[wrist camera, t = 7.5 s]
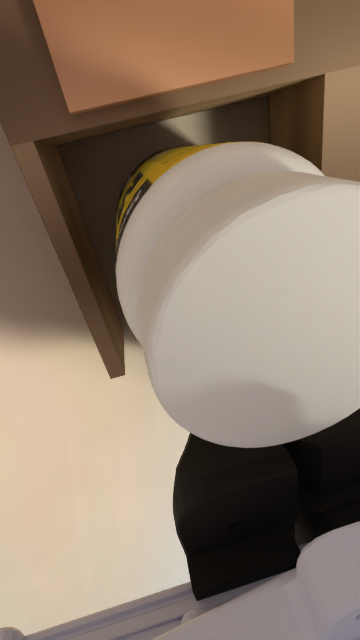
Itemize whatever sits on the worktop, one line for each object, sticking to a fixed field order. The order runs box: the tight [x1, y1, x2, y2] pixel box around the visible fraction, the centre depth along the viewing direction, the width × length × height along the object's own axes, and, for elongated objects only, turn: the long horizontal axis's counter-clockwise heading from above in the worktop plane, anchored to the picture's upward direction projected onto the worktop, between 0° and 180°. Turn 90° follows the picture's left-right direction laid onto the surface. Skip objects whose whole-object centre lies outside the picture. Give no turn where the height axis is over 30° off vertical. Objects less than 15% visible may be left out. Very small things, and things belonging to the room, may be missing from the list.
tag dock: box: [0, 0, 360, 379], centre depth 9 cm, size 10×17×3 cm, turn 102°
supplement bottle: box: [115, 142, 360, 448], centre depth 7 cm, size 5×5×8 cm
